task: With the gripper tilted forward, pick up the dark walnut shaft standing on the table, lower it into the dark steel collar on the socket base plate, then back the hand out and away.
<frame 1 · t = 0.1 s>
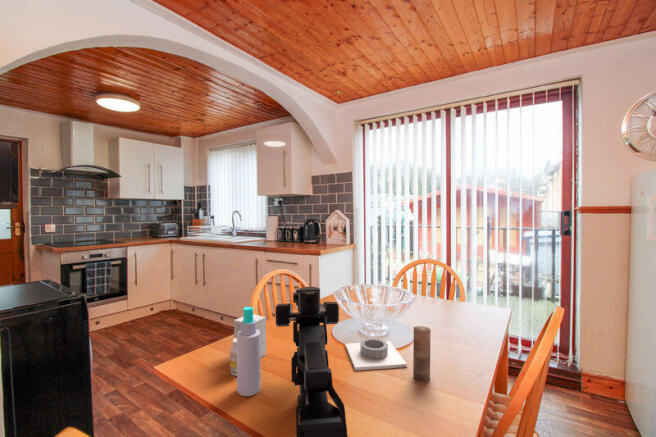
hand: (306, 305, 100), 17 cm above the table, tool horizontal, fingers open, 9 cm apart
supplement bottle: (239, 372, 91), on the table
socket base plate: (374, 356, 100), on the table
spray bottle: (249, 391, 81), on the table
supplement box: (250, 357, 100), on the table
walnut shaft: (421, 377, 87), on the table
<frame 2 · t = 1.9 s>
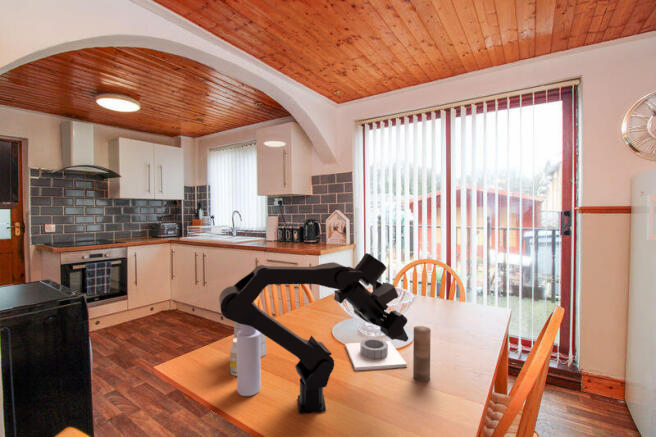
hand: (396, 333, 84), 14 cm above the table, tool tilted 45°, fingers open, 9 cm apart
nothing on the table moved.
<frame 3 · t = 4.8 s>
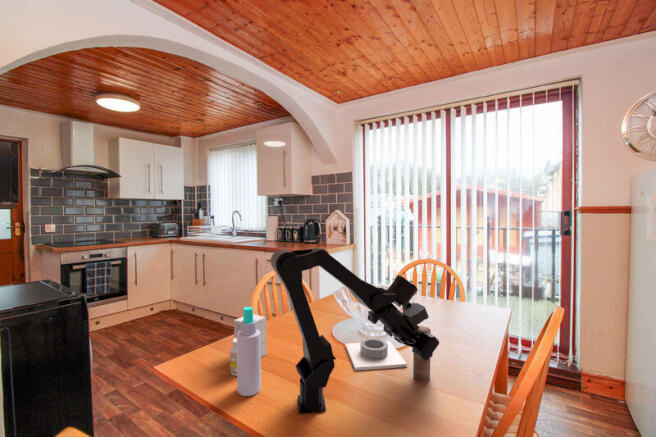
hand: (425, 352, 87), 7 cm above the table, tool tilted 45°, fingers closed on walnut shaft, 5 cm apart
walnut shaft: (421, 377, 87), on the table, touching gripper
everything else where it was.
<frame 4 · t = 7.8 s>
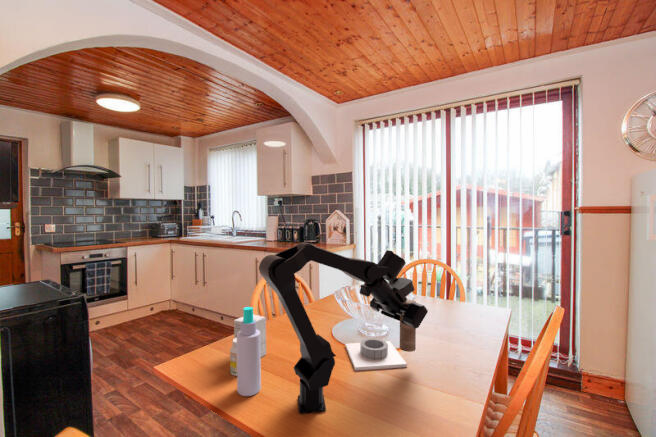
hand: (411, 323, 92), 13 cm above the table, tool tilted 45°, fingers closed on walnut shaft, 5 cm apart
walnut shaft: (407, 348, 91), point 6 cm above the table, touching gripper
everything else where it was.
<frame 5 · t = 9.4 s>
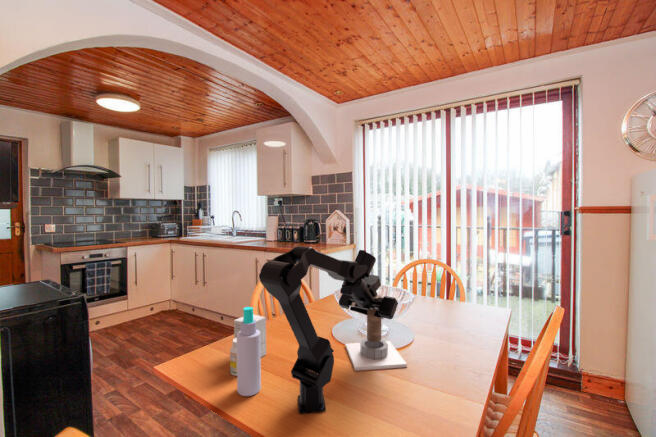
hand: (376, 316, 100), 13 cm above the table, tool tilted 45°, fingers closed on walnut shaft, 5 cm apart
walnut shaft: (374, 338, 99), point 6 cm above the table, touching gripper
everything else where it was.
when the fingers open (9 cm above the table, at t = 10.8 s): walnut shaft drops 1 cm, resting on socket base plate.
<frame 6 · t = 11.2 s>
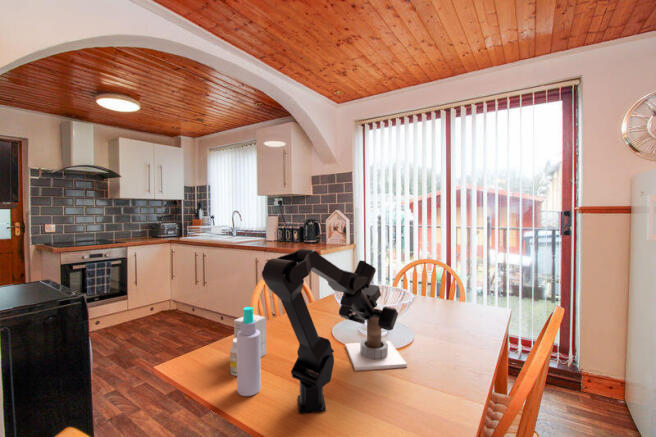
hand: (376, 325, 100), 10 cm above the table, tool tilted 45°, fingers open, 9 cm apart
walnut shaft: (374, 353, 100), point 1 cm above the table, touching socket base plate
everything else where it was.
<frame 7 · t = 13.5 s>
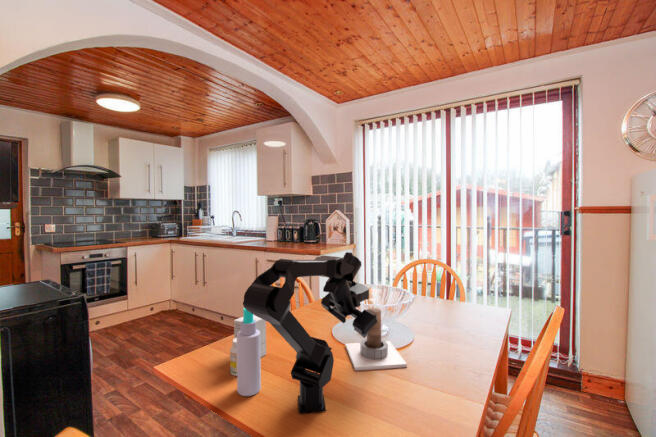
hand: (354, 329, 94), 11 cm above the table, tool tilted 30°, fingers open, 9 cm apart
nothing on the table moved.
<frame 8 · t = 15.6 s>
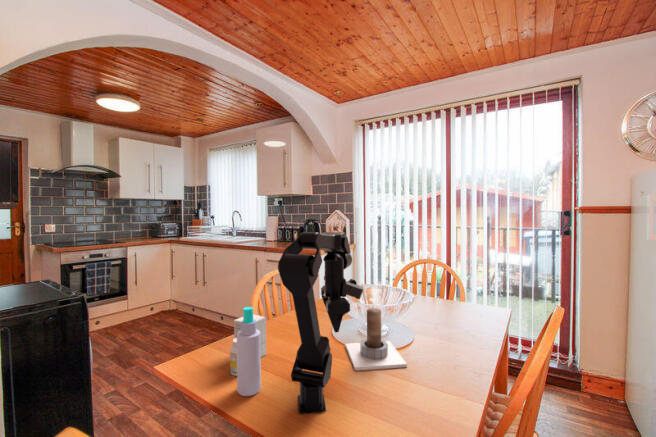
hand: (334, 325, 92), 13 cm above the table, tool pointing down, fingers open, 9 cm apart
nothing on the table moved.
at the end: walnut shaft 0.0 cm off-centre on the socket base plate, point 1.0 cm above the socket base plate's base; walnut shaft tilted 1°; the gripper is holding nothing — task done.
